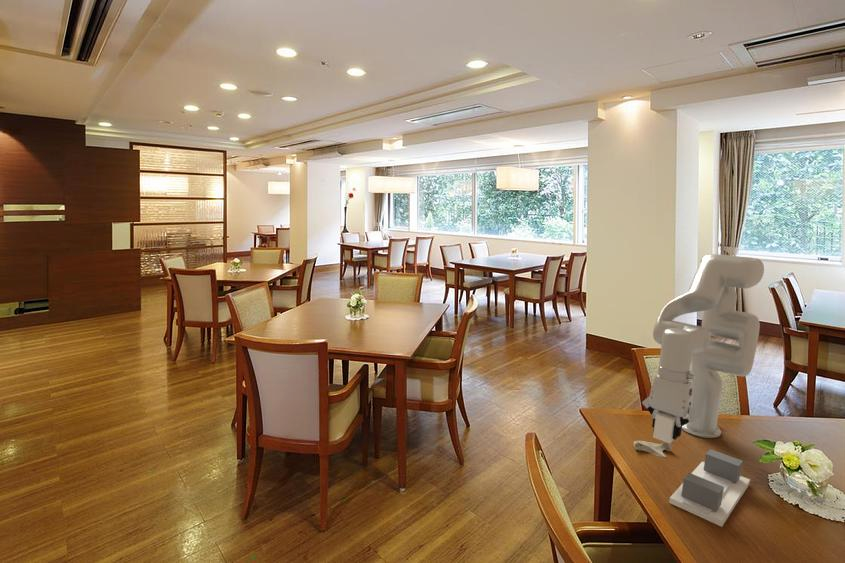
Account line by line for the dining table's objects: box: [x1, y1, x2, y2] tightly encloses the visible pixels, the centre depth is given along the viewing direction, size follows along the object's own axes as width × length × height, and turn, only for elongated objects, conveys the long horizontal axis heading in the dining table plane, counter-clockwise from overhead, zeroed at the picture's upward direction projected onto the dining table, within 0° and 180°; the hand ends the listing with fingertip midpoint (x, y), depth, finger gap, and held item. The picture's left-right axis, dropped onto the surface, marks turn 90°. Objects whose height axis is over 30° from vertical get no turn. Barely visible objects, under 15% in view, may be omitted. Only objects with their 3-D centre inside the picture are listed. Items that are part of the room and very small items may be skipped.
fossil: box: [632, 440, 672, 459], centre depth 149 cm, size 7×11×3 cm, turn 64°
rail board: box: [668, 449, 751, 527], centre depth 127 cm, size 26×12×7 cm, turn 134°
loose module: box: [652, 411, 676, 444], centre depth 135 cm, size 6×4×7 cm
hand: (665, 433), depth 135 cm, fingers closed on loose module, 4 cm apart
